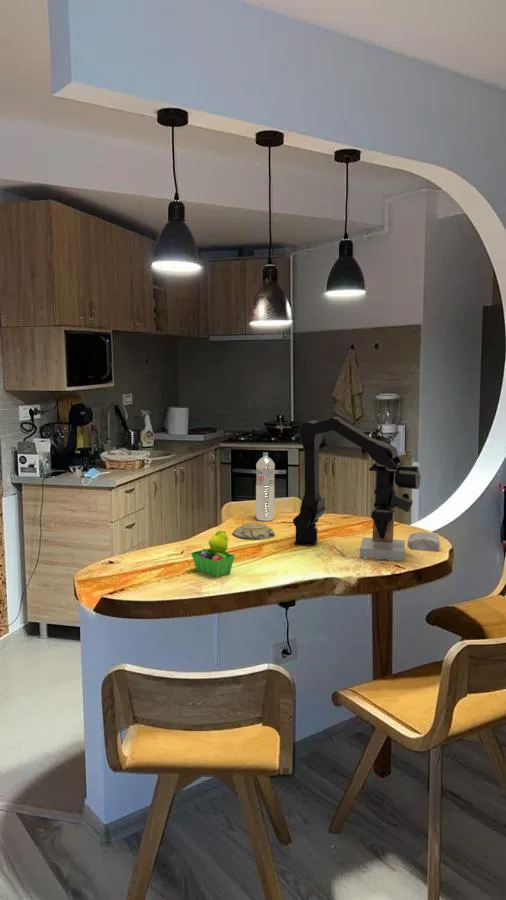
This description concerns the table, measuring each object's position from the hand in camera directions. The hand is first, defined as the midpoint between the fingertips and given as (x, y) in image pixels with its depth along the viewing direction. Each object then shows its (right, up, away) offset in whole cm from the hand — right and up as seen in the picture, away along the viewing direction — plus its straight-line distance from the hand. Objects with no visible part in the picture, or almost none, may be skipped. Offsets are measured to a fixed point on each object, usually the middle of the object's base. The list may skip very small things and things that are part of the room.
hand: (382, 535), depth 212 cm
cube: (0, -1, 0) cm, 1 cm away
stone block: (+15, -5, +10) cm, 19 cm away
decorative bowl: (-40, -3, +23) cm, 46 cm away
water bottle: (-35, 0, +44) cm, 57 cm away
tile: (0, -6, +1) cm, 6 cm away
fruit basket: (-51, -8, -17) cm, 54 cm away
